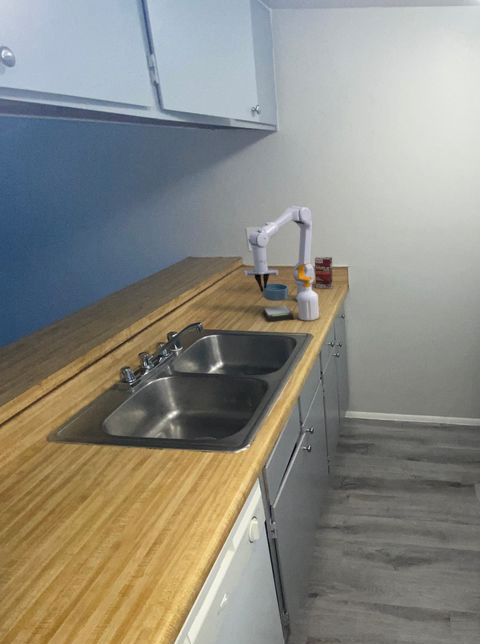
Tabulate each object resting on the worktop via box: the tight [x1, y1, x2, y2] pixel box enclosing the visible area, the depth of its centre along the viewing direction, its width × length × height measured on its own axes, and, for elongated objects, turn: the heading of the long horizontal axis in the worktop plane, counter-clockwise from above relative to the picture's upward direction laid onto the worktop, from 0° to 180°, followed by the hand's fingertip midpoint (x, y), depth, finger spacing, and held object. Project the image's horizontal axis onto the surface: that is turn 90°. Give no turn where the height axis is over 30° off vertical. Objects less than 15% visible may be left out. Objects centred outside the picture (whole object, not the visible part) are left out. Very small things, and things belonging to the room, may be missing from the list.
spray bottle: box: [296, 261, 320, 322], centre depth 207 cm, size 9×9×25 cm
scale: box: [262, 305, 294, 323], centre depth 214 cm, size 13×11×3 cm
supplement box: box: [314, 256, 334, 290], centre depth 253 cm, size 9×5×16 cm, turn 81°
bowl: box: [262, 283, 289, 302], centre depth 216 cm, size 11×11×5 cm
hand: (263, 291), depth 214 cm, fingers closed on bowl
